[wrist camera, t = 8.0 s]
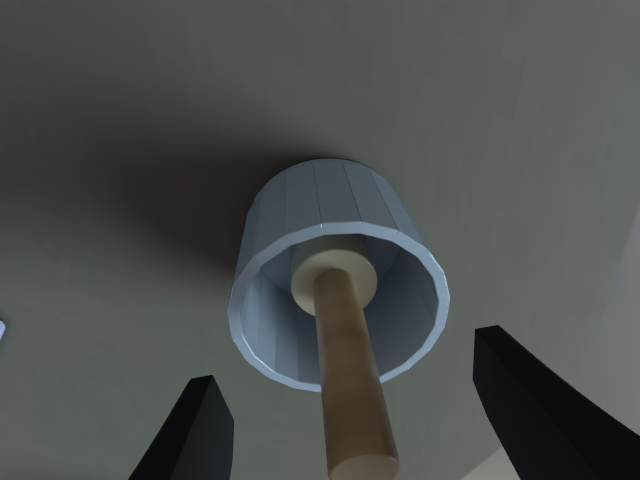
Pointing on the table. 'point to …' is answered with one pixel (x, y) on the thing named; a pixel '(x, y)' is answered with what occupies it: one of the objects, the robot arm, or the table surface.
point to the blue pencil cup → (325, 219)
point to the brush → (345, 354)
